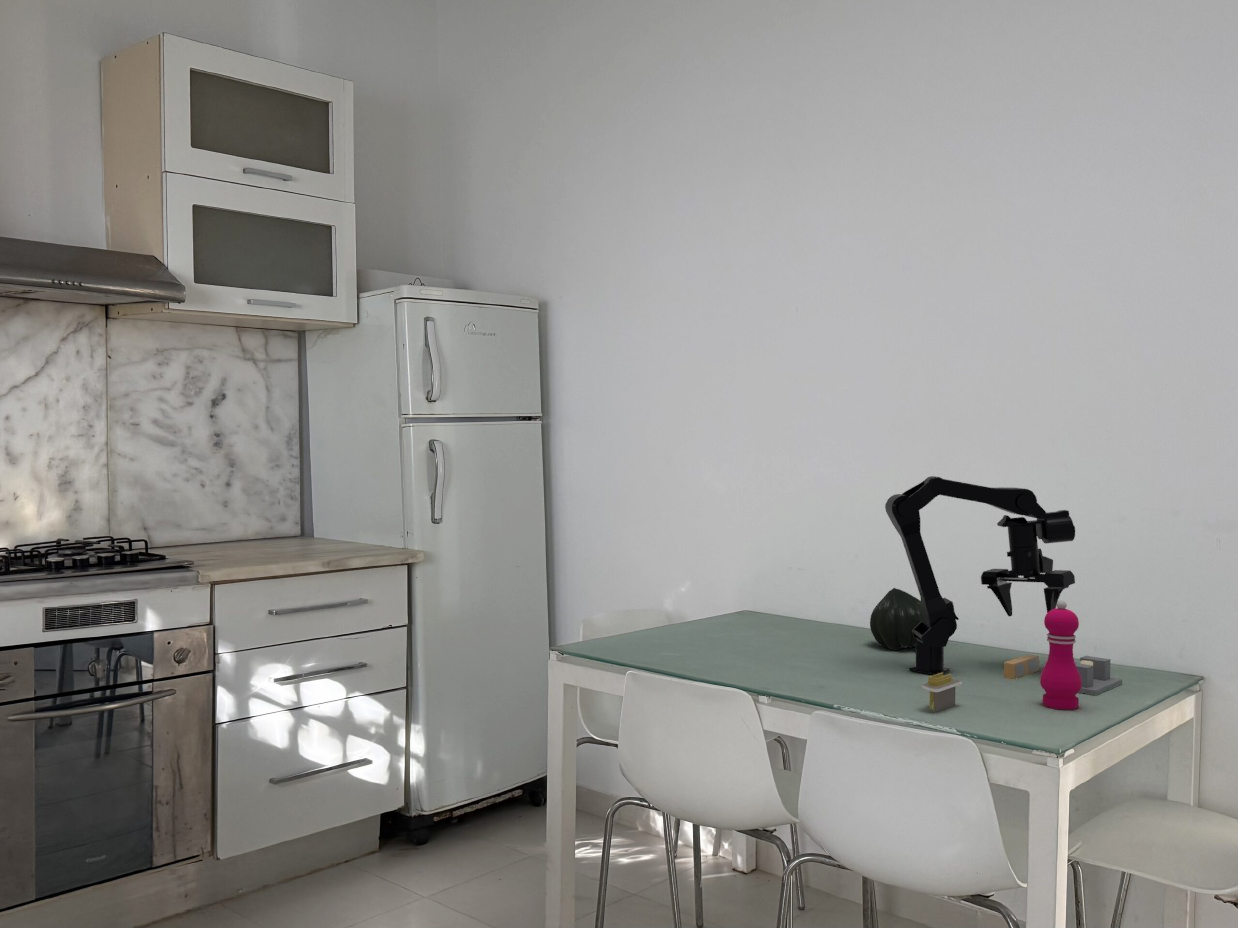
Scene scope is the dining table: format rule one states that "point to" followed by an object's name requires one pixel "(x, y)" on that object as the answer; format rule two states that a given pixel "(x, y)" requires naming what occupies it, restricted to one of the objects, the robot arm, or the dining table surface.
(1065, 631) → the pepper mill
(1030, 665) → the tan wooden bar
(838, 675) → the dining table surface
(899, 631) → the squash
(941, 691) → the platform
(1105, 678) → the display stand
